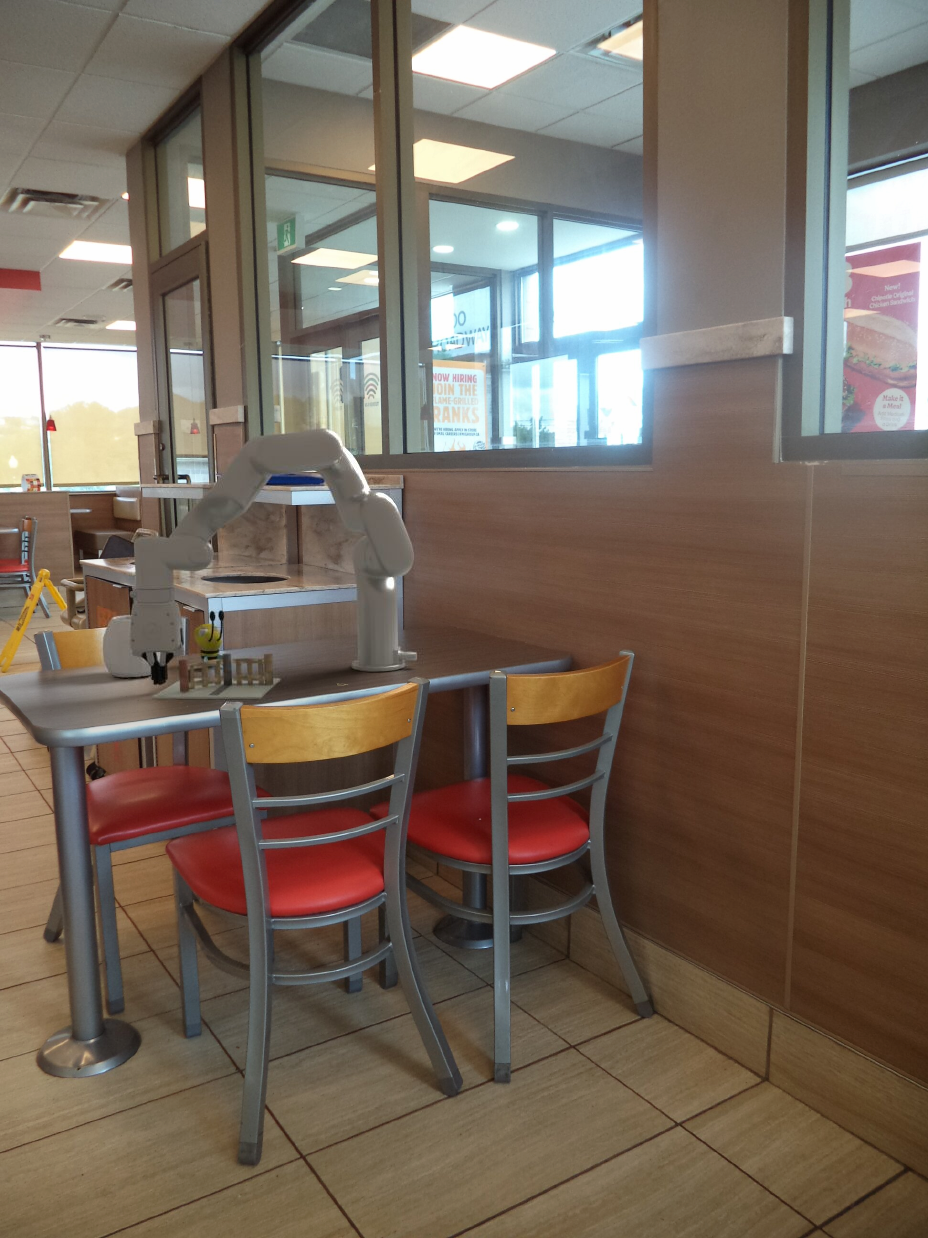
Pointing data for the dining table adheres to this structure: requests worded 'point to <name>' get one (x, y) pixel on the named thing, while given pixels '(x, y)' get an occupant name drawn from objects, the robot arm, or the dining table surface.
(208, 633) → the toy
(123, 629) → the white faceted vase
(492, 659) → the dining table surface
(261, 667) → the fence fixed
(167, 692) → the card
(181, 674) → the fence wing
